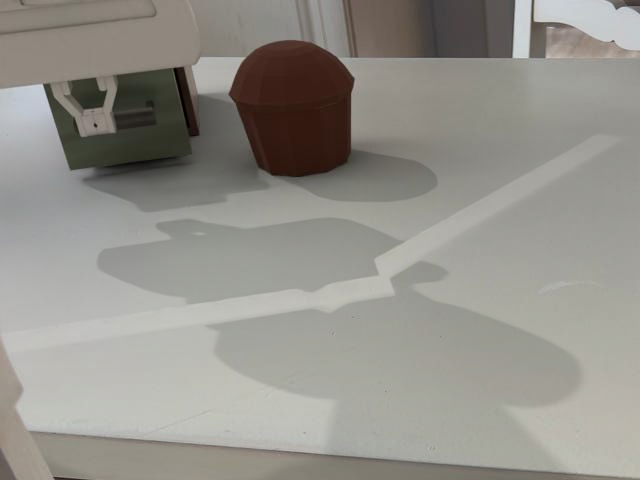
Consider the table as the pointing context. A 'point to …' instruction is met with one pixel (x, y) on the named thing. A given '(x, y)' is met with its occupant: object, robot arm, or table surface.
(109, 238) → the table surface
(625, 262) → the table surface
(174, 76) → the drawer
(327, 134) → the muffin
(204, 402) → the table surface
